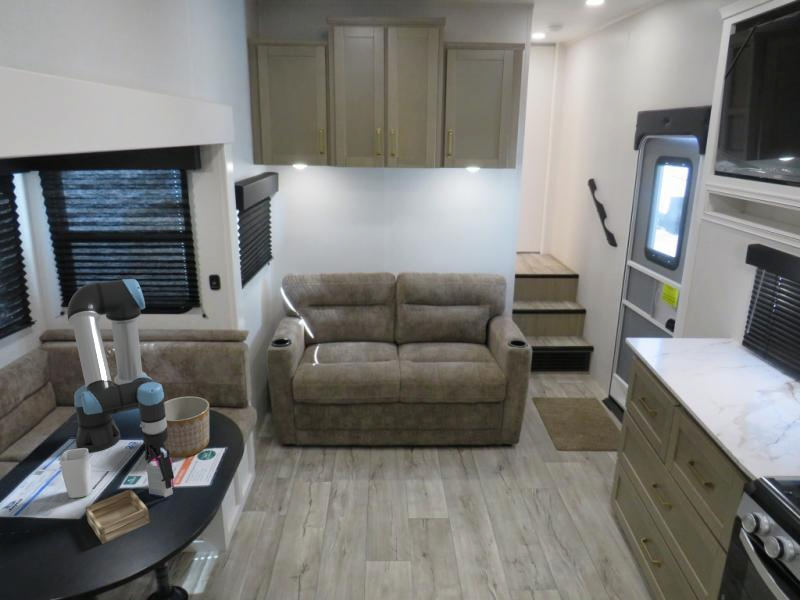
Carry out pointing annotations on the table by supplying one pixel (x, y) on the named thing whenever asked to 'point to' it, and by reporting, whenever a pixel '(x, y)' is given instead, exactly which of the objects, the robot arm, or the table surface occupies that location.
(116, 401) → the robot arm
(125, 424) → the table surface
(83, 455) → the cup
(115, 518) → the crate
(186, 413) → the planter
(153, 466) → the supplement box
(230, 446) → the table surface
